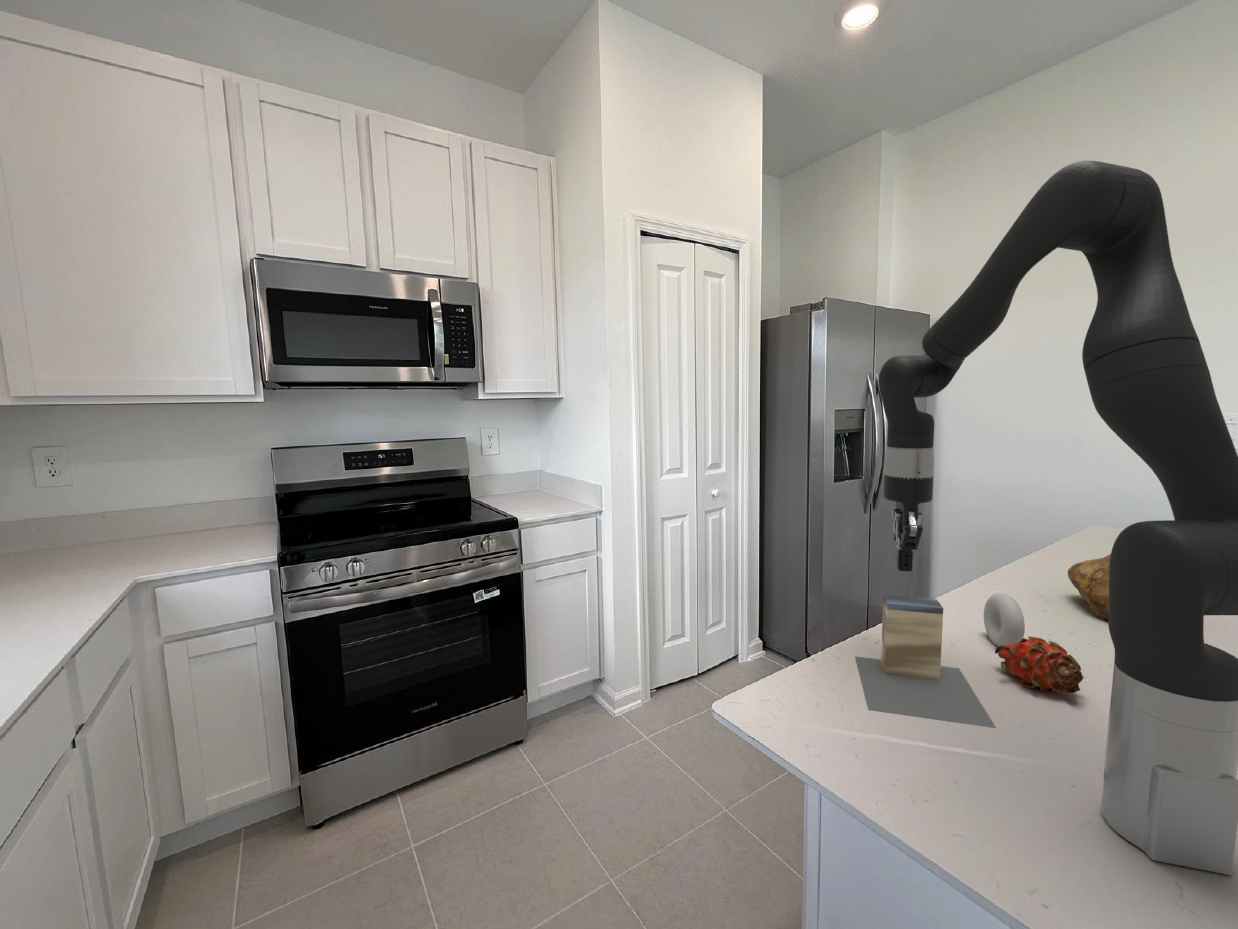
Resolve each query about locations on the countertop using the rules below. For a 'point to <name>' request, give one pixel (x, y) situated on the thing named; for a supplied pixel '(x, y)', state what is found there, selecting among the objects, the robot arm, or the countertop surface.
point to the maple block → (911, 636)
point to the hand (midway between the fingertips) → (904, 569)
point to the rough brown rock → (1093, 583)
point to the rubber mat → (922, 694)
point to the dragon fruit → (1041, 665)
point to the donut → (1003, 620)
